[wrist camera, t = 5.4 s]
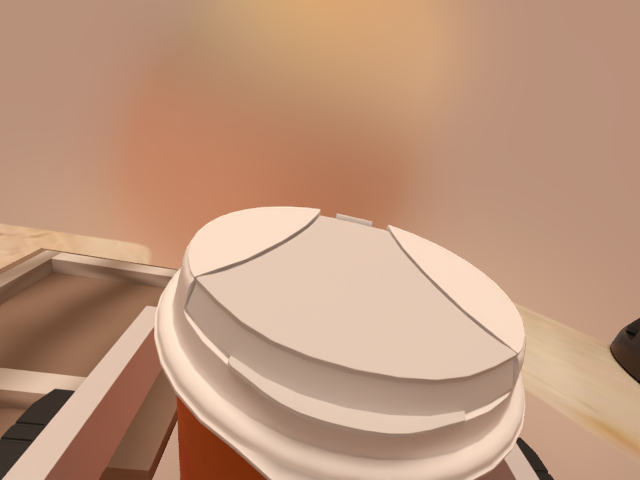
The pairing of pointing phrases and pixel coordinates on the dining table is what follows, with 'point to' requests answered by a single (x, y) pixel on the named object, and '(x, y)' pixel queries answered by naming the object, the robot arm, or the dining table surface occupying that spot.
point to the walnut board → (80, 342)
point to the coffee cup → (336, 353)
